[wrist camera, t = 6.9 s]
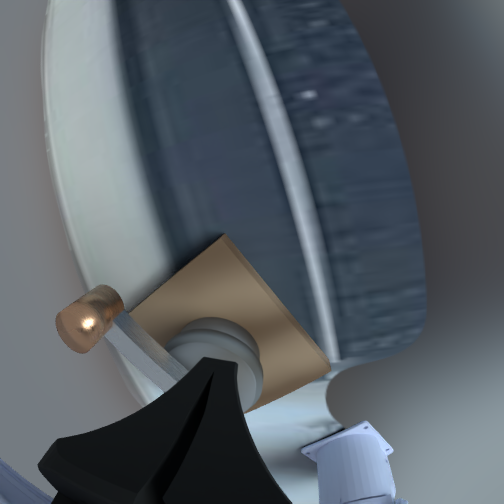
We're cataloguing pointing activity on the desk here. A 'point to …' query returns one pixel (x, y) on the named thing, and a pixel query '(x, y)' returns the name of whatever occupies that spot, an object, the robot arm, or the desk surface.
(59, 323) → the hammer
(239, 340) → the wooden base with cylinder
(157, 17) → the desk surface
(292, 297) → the desk surface
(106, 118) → the desk surface
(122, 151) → the desk surface
